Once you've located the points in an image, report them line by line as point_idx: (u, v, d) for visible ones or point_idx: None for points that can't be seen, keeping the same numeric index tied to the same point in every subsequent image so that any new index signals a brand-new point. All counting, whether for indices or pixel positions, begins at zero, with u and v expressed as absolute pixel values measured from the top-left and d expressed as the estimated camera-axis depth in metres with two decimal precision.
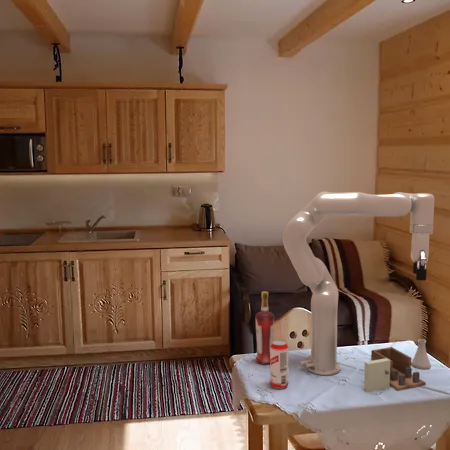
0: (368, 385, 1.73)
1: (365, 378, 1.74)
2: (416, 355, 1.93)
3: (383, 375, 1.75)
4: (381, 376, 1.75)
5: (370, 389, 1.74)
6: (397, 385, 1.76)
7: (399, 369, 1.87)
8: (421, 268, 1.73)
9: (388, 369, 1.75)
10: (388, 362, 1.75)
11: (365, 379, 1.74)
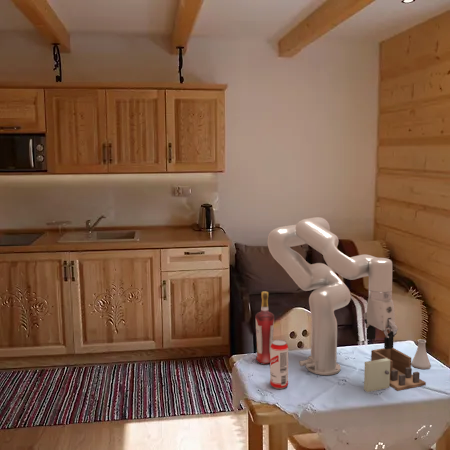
0: (368, 385, 1.73)
1: (365, 378, 1.74)
2: (416, 355, 1.93)
3: (383, 375, 1.75)
4: (381, 376, 1.75)
5: (370, 389, 1.74)
6: (397, 385, 1.76)
7: (399, 369, 1.87)
8: None
9: (388, 369, 1.75)
10: (388, 362, 1.75)
11: (365, 379, 1.74)
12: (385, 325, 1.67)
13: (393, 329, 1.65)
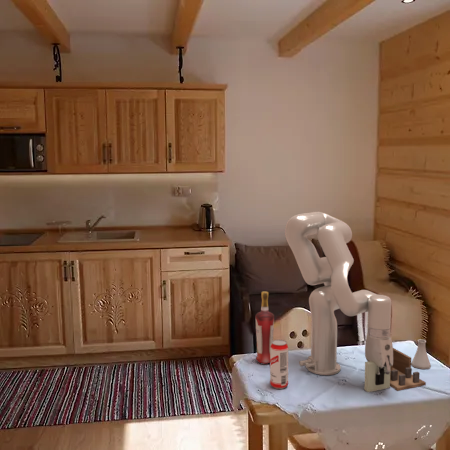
0: (369, 385, 1.73)
1: (365, 378, 1.74)
2: (416, 355, 1.93)
3: None
4: None
5: (370, 389, 1.74)
6: (397, 385, 1.76)
7: (399, 369, 1.87)
8: None
9: None
10: None
11: (365, 379, 1.74)
12: (381, 366, 1.70)
13: (385, 370, 1.70)
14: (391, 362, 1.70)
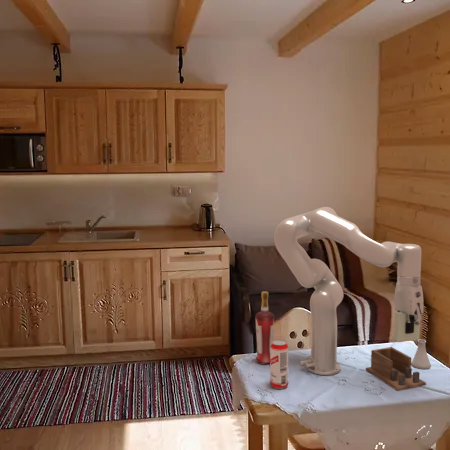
0: (399, 336, 1.74)
1: (395, 329, 1.75)
2: (416, 355, 1.93)
3: None
4: None
5: (400, 339, 1.75)
6: (397, 385, 1.76)
7: (399, 369, 1.87)
8: None
9: (418, 320, 1.76)
10: None
11: (395, 330, 1.75)
12: None
13: (416, 317, 1.71)
14: (421, 310, 1.71)
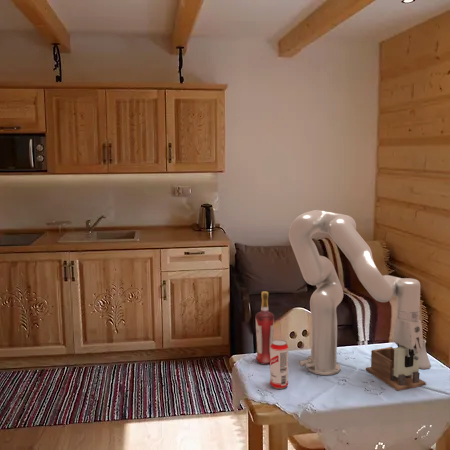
0: (398, 371, 1.76)
1: (395, 364, 1.77)
2: None
3: None
4: None
5: None
6: (397, 385, 1.76)
7: None
8: None
9: (417, 355, 1.78)
10: None
11: (395, 365, 1.77)
12: None
13: (415, 352, 1.73)
14: (421, 344, 1.73)
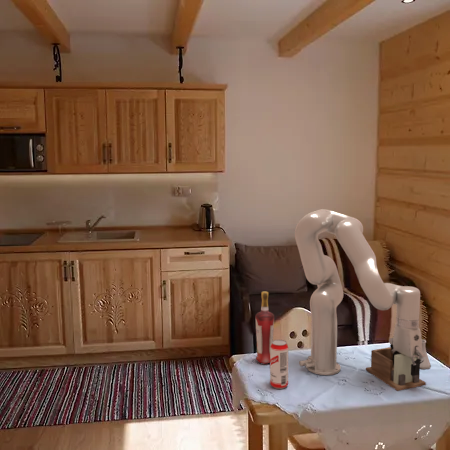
0: (398, 378, 1.76)
1: (395, 371, 1.77)
2: None
3: None
4: (410, 369, 1.78)
5: None
6: (397, 385, 1.76)
7: None
8: None
9: None
10: None
11: (395, 372, 1.77)
12: (412, 352, 1.72)
13: (420, 357, 1.70)
14: None
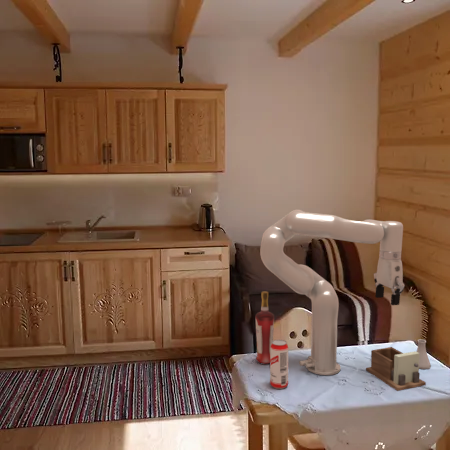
0: (398, 378, 1.76)
1: (395, 371, 1.77)
2: None
3: (412, 368, 1.78)
4: (410, 369, 1.78)
5: None
6: (397, 385, 1.76)
7: None
8: None
9: (417, 362, 1.79)
10: (417, 355, 1.78)
11: (395, 372, 1.77)
12: (393, 283, 1.81)
13: (400, 286, 1.78)
14: None
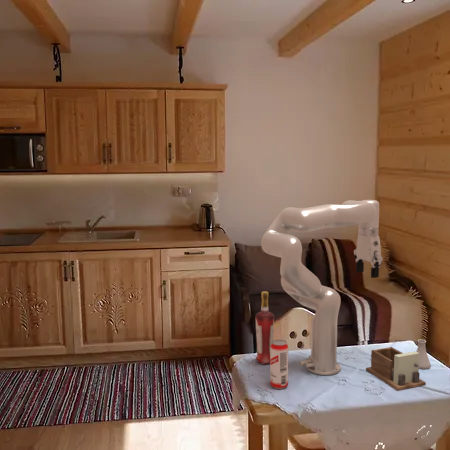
0: (398, 378, 1.76)
1: (395, 371, 1.77)
2: None
3: (412, 368, 1.78)
4: (410, 369, 1.78)
5: None
6: (397, 385, 1.76)
7: None
8: None
9: (417, 362, 1.79)
10: (417, 355, 1.78)
11: (395, 372, 1.77)
12: (372, 257, 1.94)
13: (378, 259, 1.92)
14: None
